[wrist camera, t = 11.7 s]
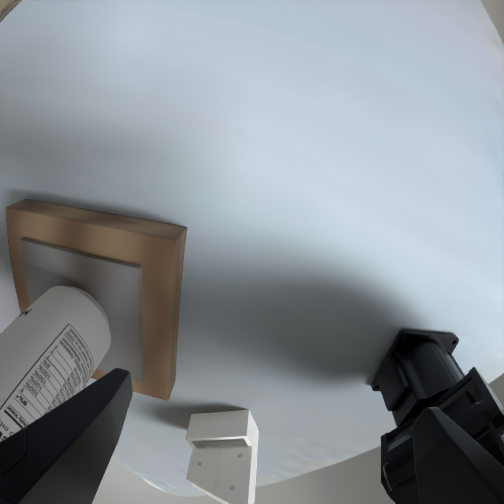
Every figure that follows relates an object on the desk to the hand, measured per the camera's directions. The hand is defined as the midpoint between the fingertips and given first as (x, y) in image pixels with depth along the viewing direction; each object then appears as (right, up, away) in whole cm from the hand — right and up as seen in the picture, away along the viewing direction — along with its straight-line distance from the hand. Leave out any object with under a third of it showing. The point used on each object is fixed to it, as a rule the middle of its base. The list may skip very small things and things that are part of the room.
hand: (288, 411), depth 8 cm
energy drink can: (-13, 0, +12) cm, 18 cm away
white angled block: (-4, -12, +19) cm, 23 cm away
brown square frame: (-13, +1, +14) cm, 20 cm away
